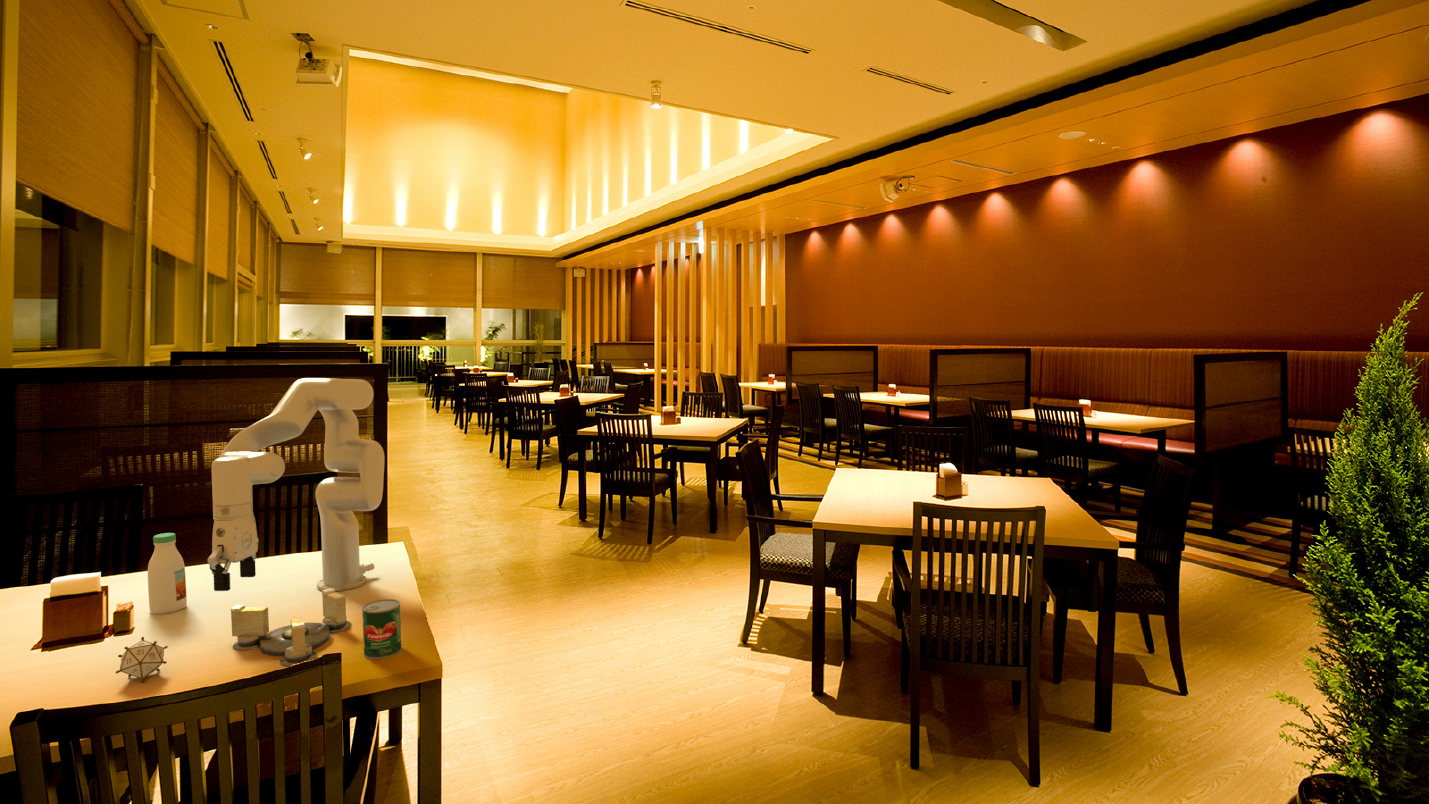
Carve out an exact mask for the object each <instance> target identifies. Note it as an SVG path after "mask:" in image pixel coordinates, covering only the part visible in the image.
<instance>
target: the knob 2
mask: <svg viewBox="0 0 1429 804" xmlns="http://www.w3.org/2000/svg"><path fill="white" fill-rule="evenodd" d="M304 623H305V621H304V619H303V616H297V617H291V618H290V625H291V639H292V646H291V647H289V648H287V649H286V650H285V656H284V657H285V660H286V661H288V662H296V661H302V660H305V659H307V658H309V657H311V656H312V651H313V650H312V645H310V644H305V629H304V627H305V626H304Z"/></svg>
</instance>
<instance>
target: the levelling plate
mask: <svg viewBox="0 0 1429 804" xmlns="http://www.w3.org/2000/svg"><path fill="white" fill-rule="evenodd" d="M304 626H305V627H304V629H305V644H310V645H312V656H311V657H309V658H307V659H305V660H302V661H296V662H288V661H286V660H285V650H286V649H287V648H289V647H291V646H292V639H291V624H288V625H285V626H281V627H278V628H276V629H273V630H271V631H269V632H268V633H267V634H265V635H264V636H263V637H262V638H261V639H260V643H258V644H255V645H251V646H239V645H238V641H236V642H235V643H233V644H232V649H233V650H235V651H249V650H254V649H258V648H259V651H260V652H261V653H262V654H263V655H267V656H270V657H282V658H281V659H280V661H279V664H280V665H281V666H284V667H292V666H291V665H293V664H297V663H301V662H304V661H309V660H312V659H314V660H316V659H317V658H318V653H317V652H316V651H313V650H315V649H317V648H320V647H322V646H324V645H325V644H326V643H328V642H329V641H330V634H335V633H341V632H344V631H346V630H348V629H350V628H351V626H352V623H351V621H348V620H347V624H346V625H345V626H343V627H341V628H337V629H329V627H328V626H327V625H325V624H323V622H322V623H321V622H304ZM315 658H316V659H315Z"/></svg>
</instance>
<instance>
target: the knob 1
mask: <svg viewBox="0 0 1429 804" xmlns="http://www.w3.org/2000/svg"><path fill="white" fill-rule="evenodd" d="M245 605H246V604H236V605H234V606H232V607H231V608H230V619H231V620H230V622H231V636H232V637H237V638H236V639H237V642H238V645H239V646H251V645H255V644H258V643H260V639H261V638H262V637H263V636H264V635H265V634H267V633H269V632H270V624H269V607H268V606H255V607H254V606H253V607H252V606H251V607H250V606H249V607H246V606H245Z"/></svg>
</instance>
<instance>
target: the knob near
mask: <svg viewBox="0 0 1429 804" xmlns="http://www.w3.org/2000/svg"><path fill="white" fill-rule="evenodd" d="M321 592H322V593H321V594H322V616H323V617H324V618H322V624H325V625H327V626H328V627H329V629H337V628H341V627H343V626H345V625H346V624H347V621H348V619H347V605H346V604H347V603H346V601H347V600H346V596H345V595H343V594H341V593H339V592H337V591H335V589H333V588H329V589H326V590H321Z"/></svg>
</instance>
